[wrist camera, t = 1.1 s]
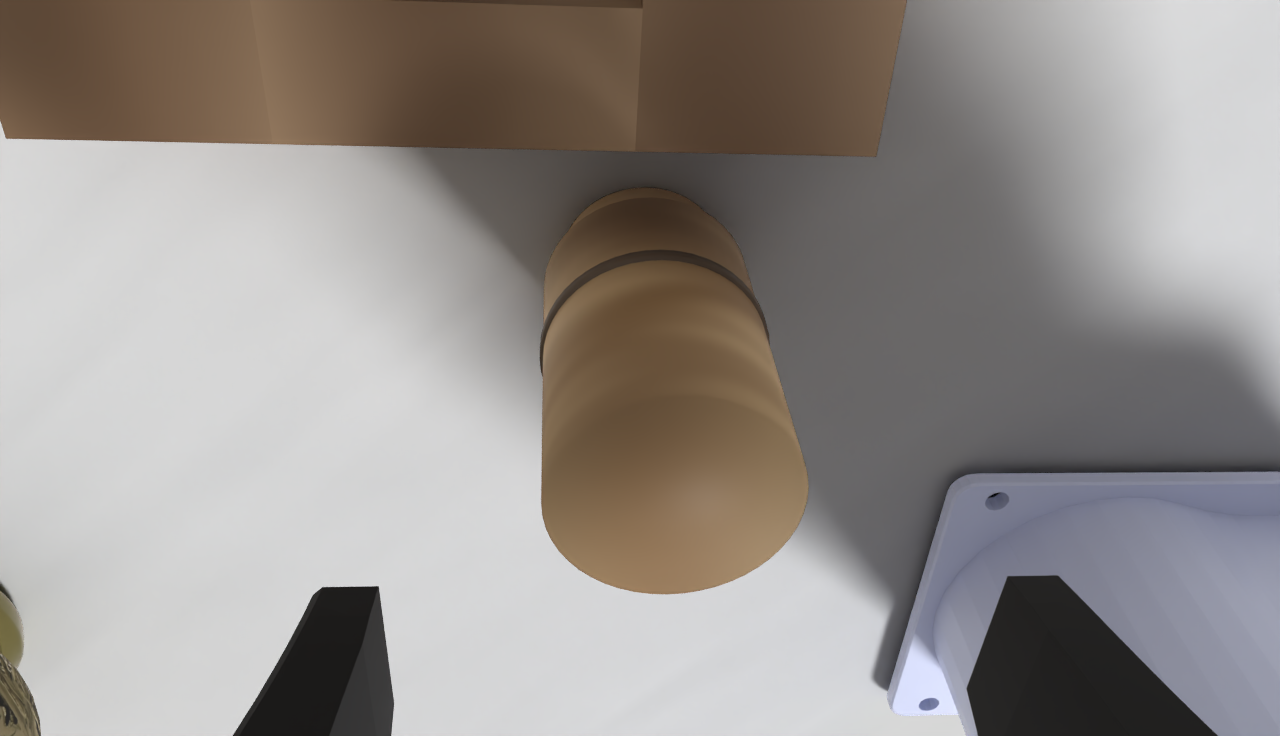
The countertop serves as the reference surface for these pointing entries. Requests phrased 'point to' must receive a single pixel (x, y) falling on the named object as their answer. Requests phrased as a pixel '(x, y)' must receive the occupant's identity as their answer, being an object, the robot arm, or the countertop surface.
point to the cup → (14, 677)
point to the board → (455, 73)
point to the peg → (661, 402)
